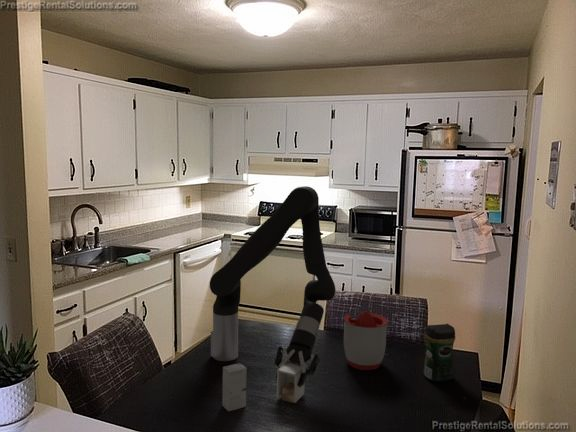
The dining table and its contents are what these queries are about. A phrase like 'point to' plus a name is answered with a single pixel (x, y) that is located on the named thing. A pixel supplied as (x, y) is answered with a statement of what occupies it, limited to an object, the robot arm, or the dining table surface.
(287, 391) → the cube
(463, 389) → the dining table surface
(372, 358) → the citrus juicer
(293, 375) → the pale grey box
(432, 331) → the coffee jar
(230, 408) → the skincare box
